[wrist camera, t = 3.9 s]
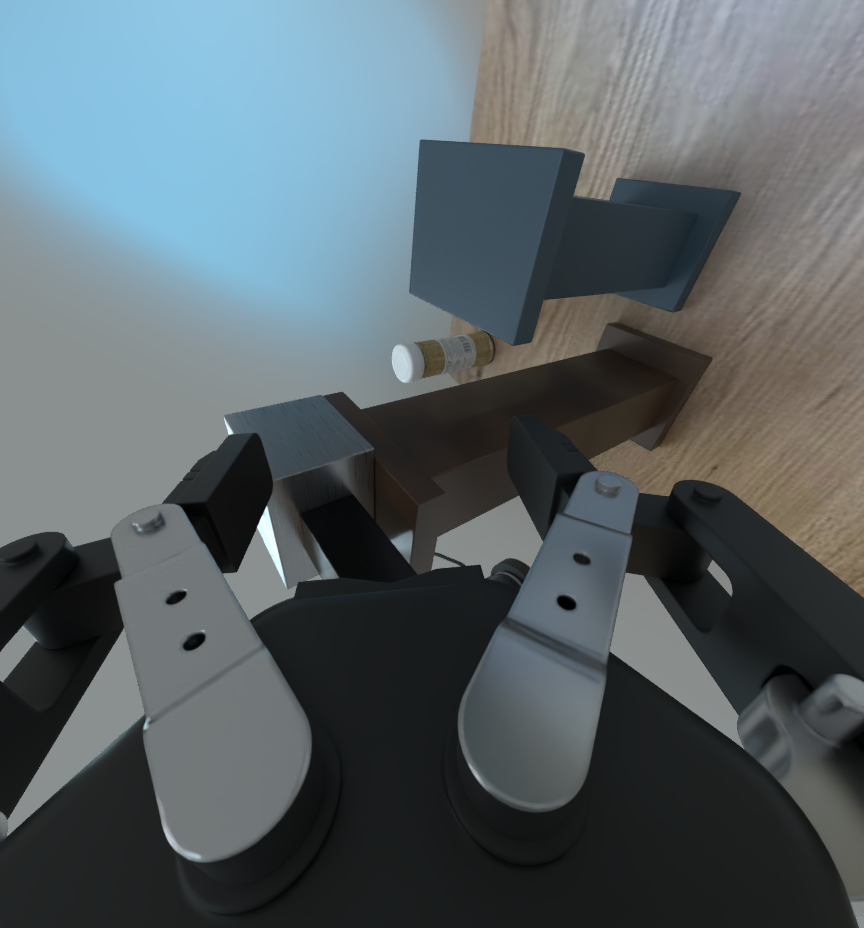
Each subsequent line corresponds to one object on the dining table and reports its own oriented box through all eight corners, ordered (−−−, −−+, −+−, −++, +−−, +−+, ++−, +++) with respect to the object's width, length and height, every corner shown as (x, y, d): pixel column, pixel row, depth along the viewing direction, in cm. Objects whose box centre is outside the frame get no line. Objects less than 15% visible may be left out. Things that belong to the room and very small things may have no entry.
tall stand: (719, 360, 29) (421, 477, 14) (663, 450, 35) (405, 603, 20) (610, 320, 35) (316, 371, 20) (577, 402, 41) (326, 492, 26)
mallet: (607, 680, 9) (460, 843, 7) (535, 763, 14) (428, 883, 11) (321, 394, 20) (222, 414, 18) (330, 488, 25) (251, 516, 22)
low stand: (749, 193, 25) (564, 148, 14) (686, 312, 30) (513, 346, 19) (620, 179, 31) (419, 139, 20) (585, 281, 36) (408, 293, 25)
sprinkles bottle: (468, 337, 52) (386, 350, 45) (490, 325, 48) (403, 337, 41) (477, 369, 52) (397, 387, 45) (499, 360, 48) (415, 378, 41)
